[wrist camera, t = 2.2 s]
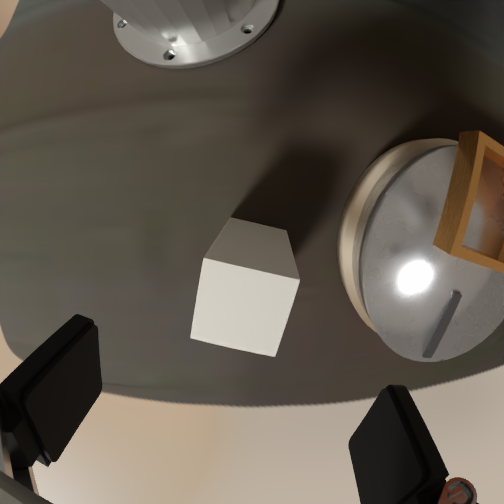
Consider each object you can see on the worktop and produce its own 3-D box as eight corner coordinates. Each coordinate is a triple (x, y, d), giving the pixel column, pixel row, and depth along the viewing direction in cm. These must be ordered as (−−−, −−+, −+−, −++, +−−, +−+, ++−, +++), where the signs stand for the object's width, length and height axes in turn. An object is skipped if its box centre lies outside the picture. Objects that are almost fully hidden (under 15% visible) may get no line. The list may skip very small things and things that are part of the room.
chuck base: (367, 107, 18) (377, 103, 16) (513, 181, 18) (527, 184, 16) (309, 315, 22) (313, 328, 21) (457, 339, 23) (467, 349, 21)
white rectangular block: (230, 217, 21) (203, 257, 12) (286, 230, 21) (299, 279, 12) (219, 270, 22) (190, 337, 13) (272, 282, 22) (275, 356, 13)
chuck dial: (468, 346, 20) (494, 378, 16) (322, 326, 20) (335, 370, 15) (525, 188, 16) (565, 198, 11) (384, 111, 16) (421, 98, 11)
